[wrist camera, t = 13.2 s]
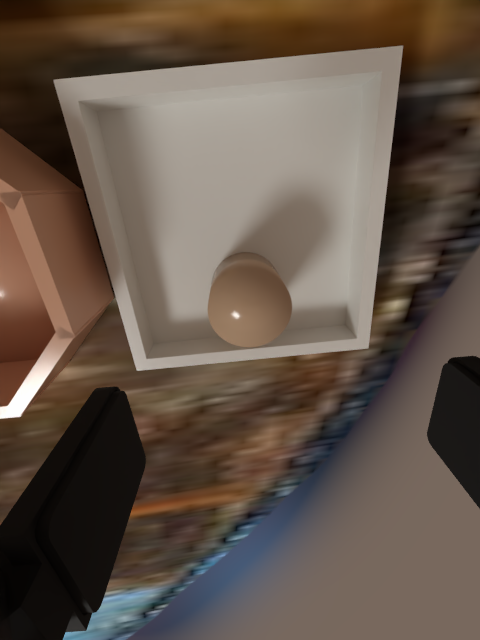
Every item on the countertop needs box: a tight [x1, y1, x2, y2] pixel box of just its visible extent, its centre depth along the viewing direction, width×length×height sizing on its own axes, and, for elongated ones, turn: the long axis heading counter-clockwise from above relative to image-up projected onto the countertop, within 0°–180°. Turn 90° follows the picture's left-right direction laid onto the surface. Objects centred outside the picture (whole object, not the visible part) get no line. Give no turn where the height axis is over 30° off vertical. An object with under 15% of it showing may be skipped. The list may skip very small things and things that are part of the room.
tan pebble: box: [208, 252, 292, 347], centre depth 17 cm, size 4×4×4 cm
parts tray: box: [53, 46, 403, 371], centre depth 17 cm, size 15×15×2 cm
